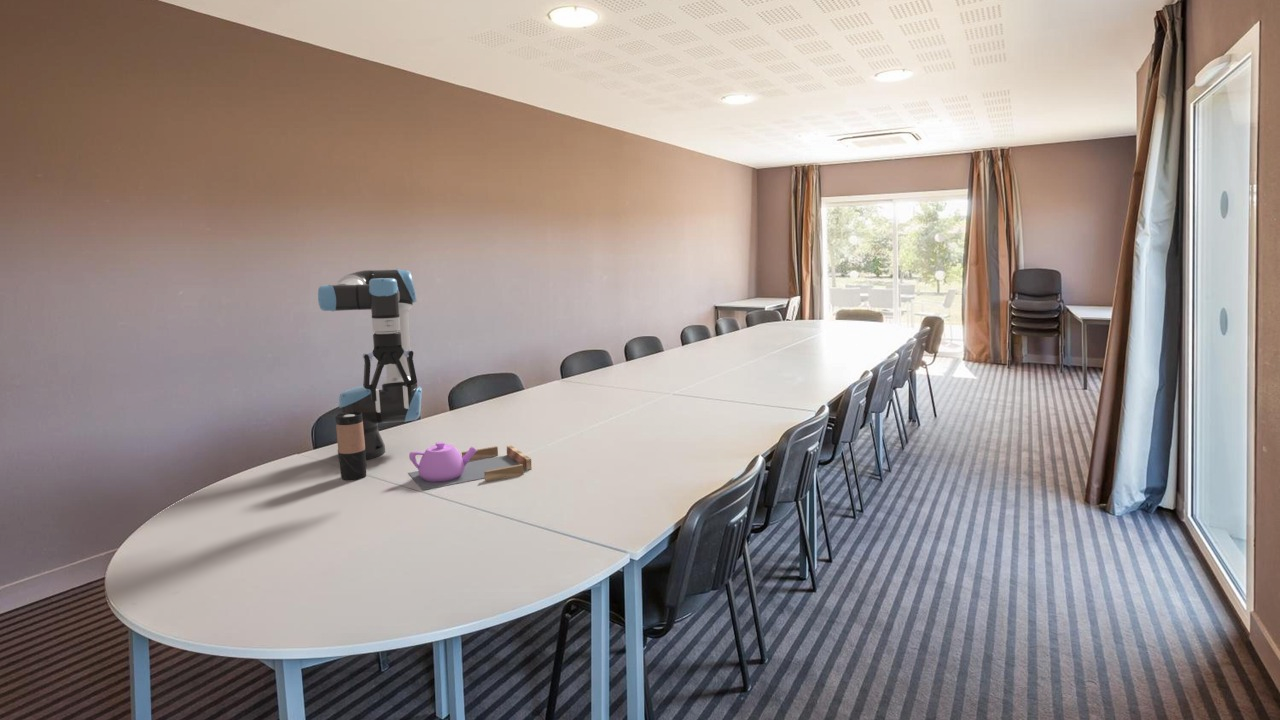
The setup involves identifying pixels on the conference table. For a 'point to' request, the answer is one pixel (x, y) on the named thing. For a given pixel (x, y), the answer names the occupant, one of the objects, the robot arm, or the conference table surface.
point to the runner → (468, 472)
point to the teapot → (441, 462)
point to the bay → (505, 471)
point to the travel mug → (351, 446)
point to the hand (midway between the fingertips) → (392, 409)
